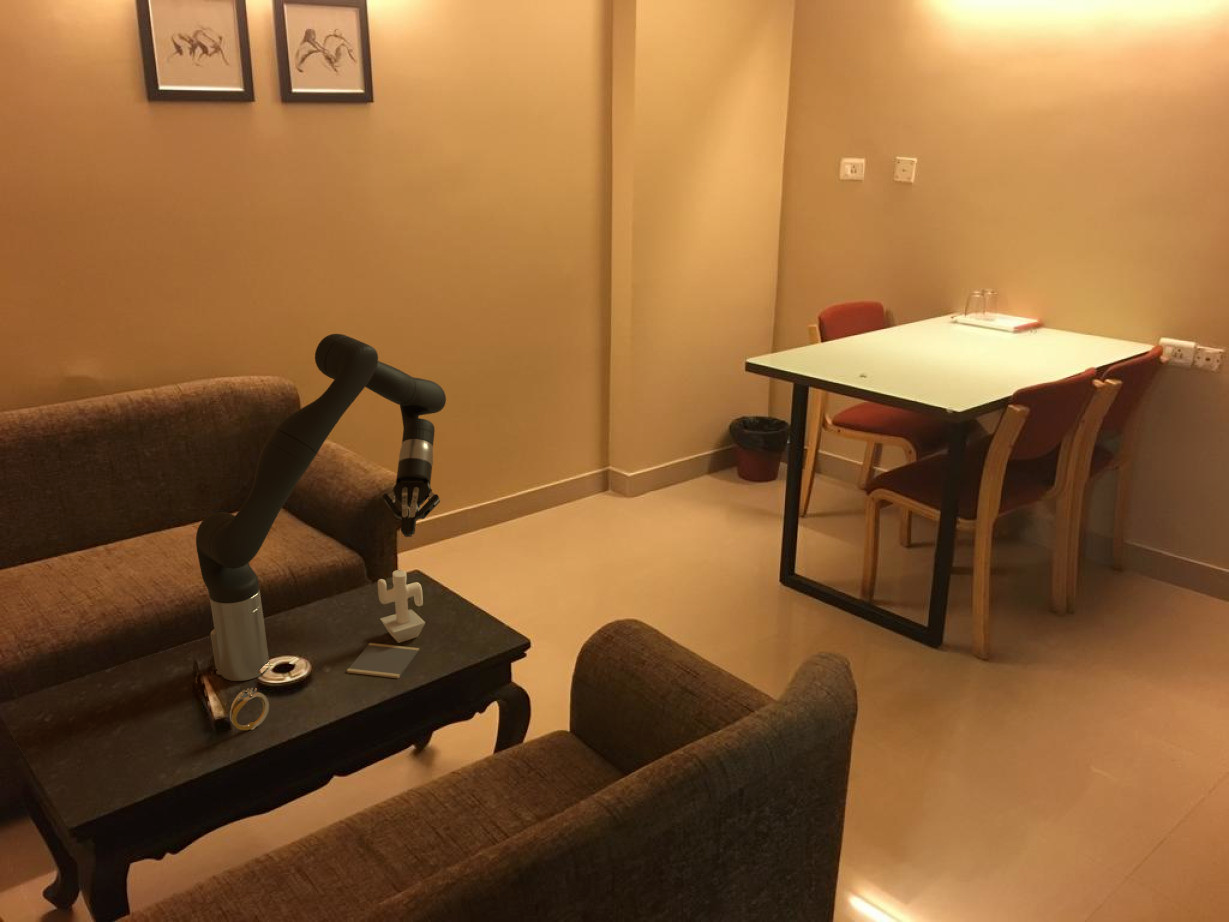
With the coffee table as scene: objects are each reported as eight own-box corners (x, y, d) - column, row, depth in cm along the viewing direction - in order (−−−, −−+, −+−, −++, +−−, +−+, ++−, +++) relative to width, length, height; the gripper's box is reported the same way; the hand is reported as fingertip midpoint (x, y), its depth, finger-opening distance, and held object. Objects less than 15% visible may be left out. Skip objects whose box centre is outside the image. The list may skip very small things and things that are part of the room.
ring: (266, 717, 181) (261, 679, 179) (274, 724, 179) (269, 687, 177) (229, 732, 177) (224, 694, 174) (237, 740, 175) (231, 701, 172)
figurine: (431, 636, 210) (427, 573, 205) (390, 649, 204) (384, 585, 199) (417, 622, 215) (412, 561, 210) (376, 635, 210) (370, 572, 205)
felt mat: (346, 672, 196) (346, 670, 196) (370, 644, 206) (369, 642, 206) (398, 678, 194) (398, 676, 194) (419, 650, 204) (419, 648, 204)
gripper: (382, 456, 217) (373, 529, 209) (441, 456, 217) (434, 529, 209) (389, 470, 224) (381, 541, 216) (447, 470, 223) (440, 542, 216)
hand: (407, 535), depth 213 cm, fingers closed
